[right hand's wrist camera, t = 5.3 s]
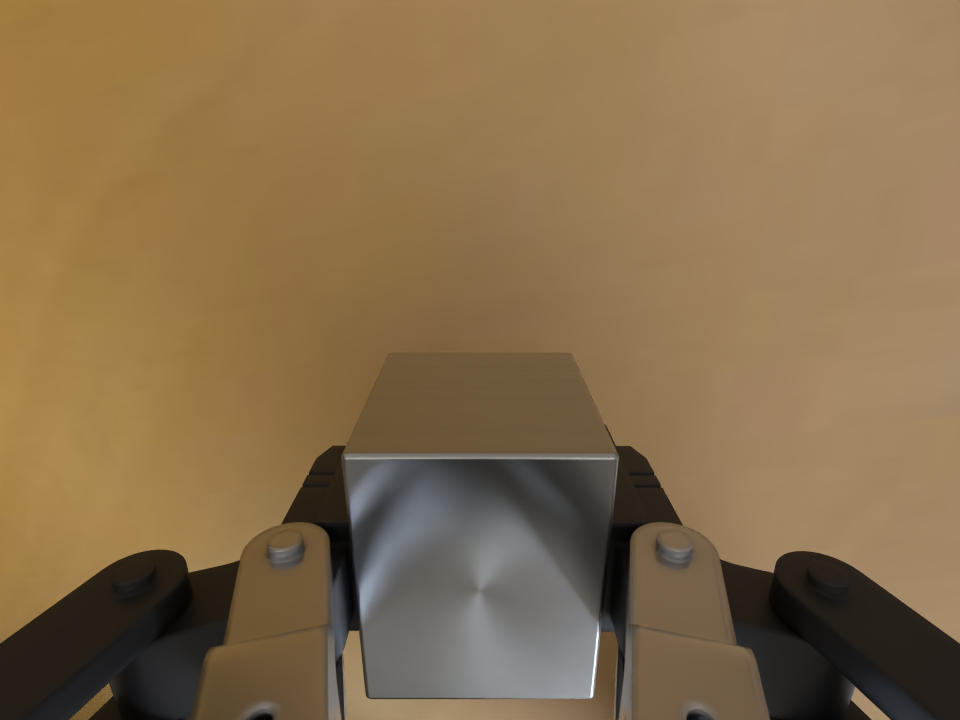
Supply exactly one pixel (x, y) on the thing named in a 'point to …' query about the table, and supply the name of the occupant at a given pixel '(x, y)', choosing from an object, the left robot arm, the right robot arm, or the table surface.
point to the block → (480, 527)
